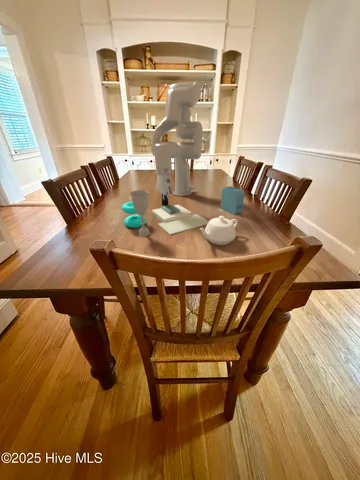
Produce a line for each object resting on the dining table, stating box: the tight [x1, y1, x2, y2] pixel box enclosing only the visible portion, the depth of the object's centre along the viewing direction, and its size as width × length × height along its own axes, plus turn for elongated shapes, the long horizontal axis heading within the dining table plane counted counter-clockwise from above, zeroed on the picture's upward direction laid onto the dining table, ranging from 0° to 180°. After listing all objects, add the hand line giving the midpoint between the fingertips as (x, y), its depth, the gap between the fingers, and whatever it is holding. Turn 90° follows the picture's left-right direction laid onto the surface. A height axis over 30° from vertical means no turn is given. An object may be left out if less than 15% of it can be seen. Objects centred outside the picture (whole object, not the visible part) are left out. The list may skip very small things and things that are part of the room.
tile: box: [161, 203, 180, 215], centre depth 104 cm, size 6×9×2 cm, turn 30°
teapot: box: [199, 215, 239, 246], centre depth 79 cm, size 20×12×10 cm, turn 123°
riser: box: [151, 204, 193, 223], centre depth 104 cm, size 16×14×2 cm
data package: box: [220, 185, 245, 215], centre depth 105 cm, size 12×4×12 cm, turn 30°
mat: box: [157, 213, 210, 236], centre depth 94 cm, size 22×12×1 cm, turn 120°
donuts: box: [121, 201, 147, 229], centre depth 92 cm, size 10×10×10 cm
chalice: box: [129, 189, 151, 237], centre depth 82 cm, size 7×7×18 cm
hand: (165, 205), depth 108 cm, fingers closed
